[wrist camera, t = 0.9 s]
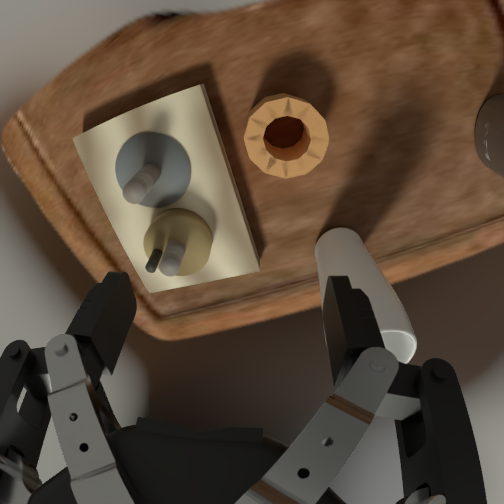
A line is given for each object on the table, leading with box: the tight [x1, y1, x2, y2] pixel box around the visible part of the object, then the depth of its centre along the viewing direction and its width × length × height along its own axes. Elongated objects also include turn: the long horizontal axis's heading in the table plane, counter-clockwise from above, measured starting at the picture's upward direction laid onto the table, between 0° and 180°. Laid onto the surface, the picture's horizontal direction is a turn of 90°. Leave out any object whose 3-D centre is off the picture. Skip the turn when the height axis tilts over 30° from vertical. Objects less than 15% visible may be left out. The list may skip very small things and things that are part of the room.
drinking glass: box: [315, 227, 417, 364], centre depth 27 cm, size 7×7×15 cm
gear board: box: [72, 83, 260, 293], centre depth 27 cm, size 13×19×7 cm
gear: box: [244, 93, 329, 179], centre depth 24 cm, size 6×6×4 cm
